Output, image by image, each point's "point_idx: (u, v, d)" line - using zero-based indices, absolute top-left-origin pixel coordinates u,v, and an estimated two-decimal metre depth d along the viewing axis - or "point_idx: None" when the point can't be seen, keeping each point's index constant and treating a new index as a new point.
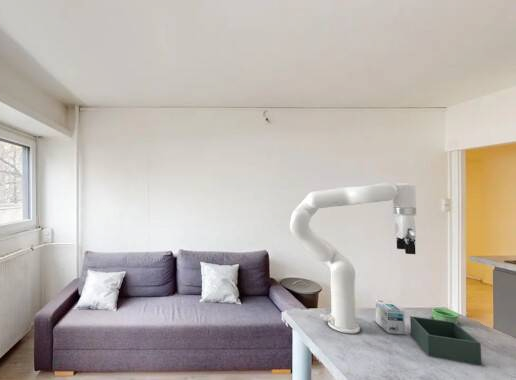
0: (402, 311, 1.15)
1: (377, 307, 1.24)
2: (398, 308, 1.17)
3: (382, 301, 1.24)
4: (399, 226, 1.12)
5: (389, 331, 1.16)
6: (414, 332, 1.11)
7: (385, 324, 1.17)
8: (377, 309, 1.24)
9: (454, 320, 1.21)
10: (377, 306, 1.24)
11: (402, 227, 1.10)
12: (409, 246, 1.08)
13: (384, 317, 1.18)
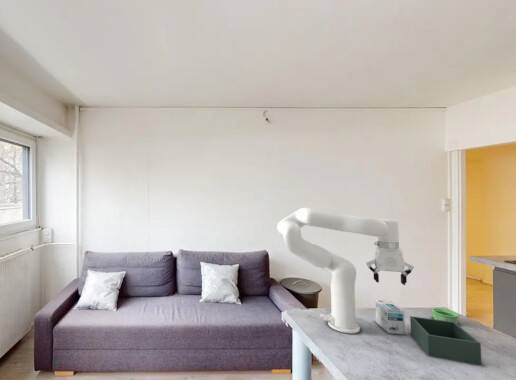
0: (402, 311, 1.15)
1: (377, 307, 1.24)
2: (398, 308, 1.17)
3: (382, 301, 1.24)
4: (398, 260, 1.17)
5: (389, 331, 1.16)
6: (414, 332, 1.11)
7: (385, 324, 1.17)
8: (377, 309, 1.24)
9: (454, 320, 1.21)
10: (377, 306, 1.24)
11: (403, 261, 1.16)
12: None
13: (384, 317, 1.18)
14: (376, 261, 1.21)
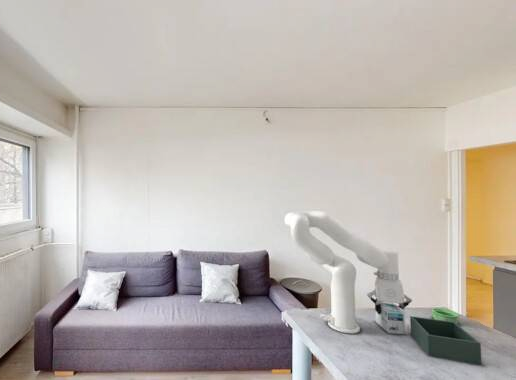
0: (402, 311, 1.15)
1: None
2: (398, 308, 1.17)
3: (382, 301, 1.24)
4: (398, 292, 1.17)
5: (389, 331, 1.16)
6: (414, 332, 1.11)
7: (386, 324, 1.17)
8: None
9: (454, 320, 1.21)
10: None
11: (403, 292, 1.17)
12: None
13: (384, 317, 1.19)
14: (376, 291, 1.21)
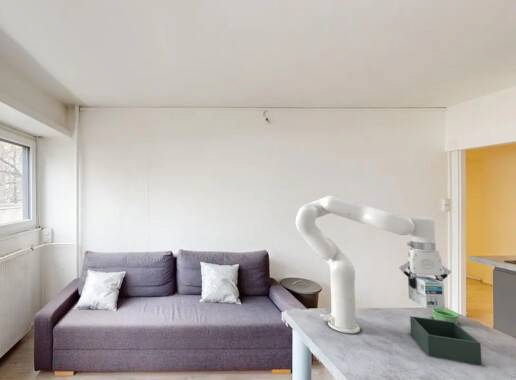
0: (441, 283, 1.04)
1: None
2: (436, 280, 1.05)
3: (416, 275, 1.13)
4: (436, 262, 1.06)
5: (427, 306, 1.05)
6: (414, 332, 1.11)
7: (422, 298, 1.06)
8: None
9: (454, 320, 1.21)
10: None
11: (441, 263, 1.05)
12: None
13: (420, 291, 1.07)
14: (410, 263, 1.10)
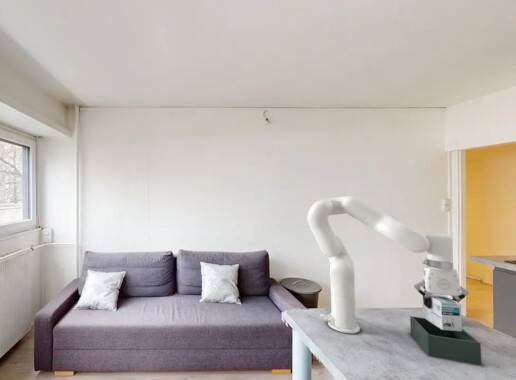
0: (459, 304, 0.99)
1: None
2: (453, 301, 1.01)
3: None
4: (453, 282, 1.01)
5: (443, 327, 1.00)
6: (414, 332, 1.11)
7: (438, 319, 1.02)
8: None
9: None
10: None
11: (459, 283, 1.01)
12: None
13: (436, 311, 1.03)
14: (425, 282, 1.06)
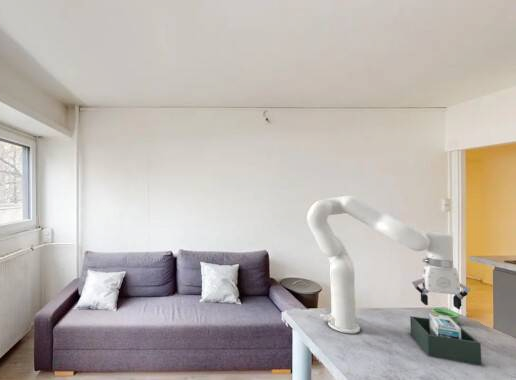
0: (458, 329, 0.98)
1: (430, 322, 1.08)
2: (454, 325, 1.00)
3: (437, 316, 1.07)
4: (453, 281, 1.01)
5: None
6: (414, 332, 1.11)
7: None
8: (430, 324, 1.08)
9: (454, 320, 1.21)
10: (430, 320, 1.08)
11: None
12: None
13: (435, 333, 1.03)
14: (425, 281, 1.06)
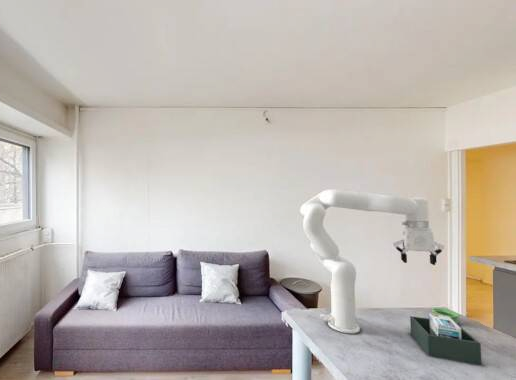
0: (458, 329, 0.98)
1: (430, 322, 1.08)
2: (454, 325, 1.00)
3: (437, 316, 1.07)
4: (428, 239, 1.14)
5: None
6: (414, 332, 1.11)
7: None
8: (430, 324, 1.08)
9: (454, 320, 1.21)
10: (430, 320, 1.08)
11: (433, 240, 1.13)
12: None
13: (435, 333, 1.03)
14: (404, 241, 1.18)
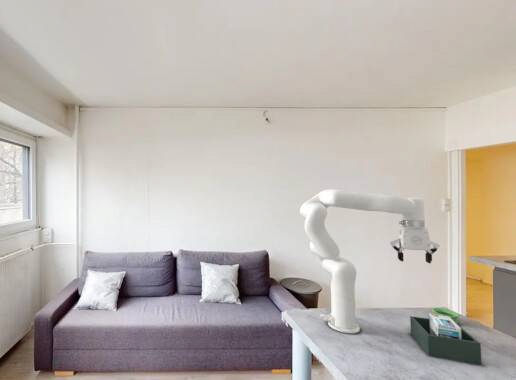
0: (458, 329, 0.98)
1: (430, 322, 1.08)
2: (454, 325, 1.00)
3: (437, 316, 1.07)
4: (424, 238, 1.16)
5: None
6: (414, 332, 1.11)
7: None
8: (430, 324, 1.08)
9: (454, 320, 1.21)
10: (430, 320, 1.08)
11: (429, 239, 1.16)
12: None
13: (435, 333, 1.03)
14: (401, 240, 1.21)
